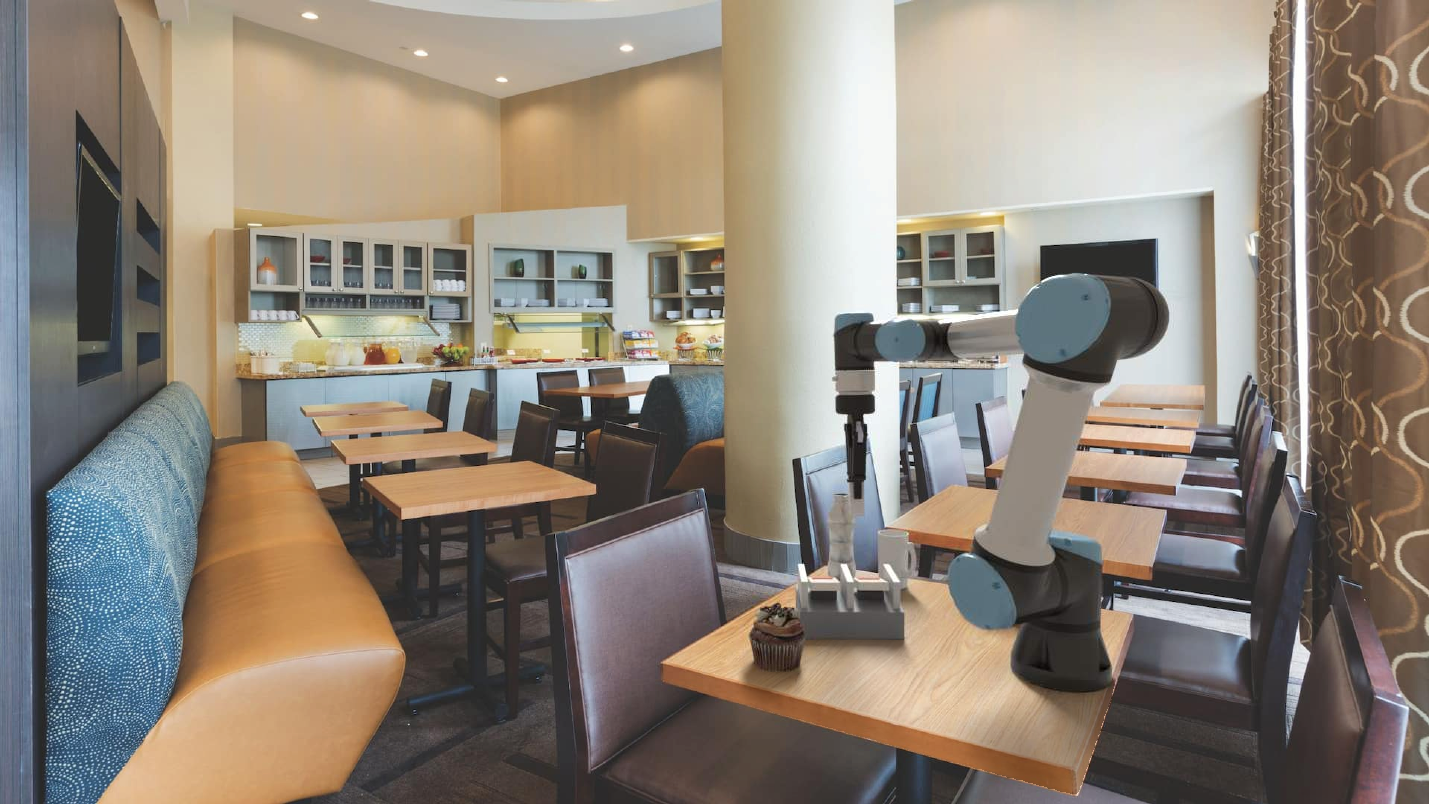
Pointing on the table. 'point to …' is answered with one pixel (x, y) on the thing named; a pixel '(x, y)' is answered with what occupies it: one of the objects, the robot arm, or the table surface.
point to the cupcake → (777, 638)
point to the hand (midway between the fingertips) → (856, 514)
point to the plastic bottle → (841, 536)
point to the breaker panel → (851, 609)
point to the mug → (896, 554)
